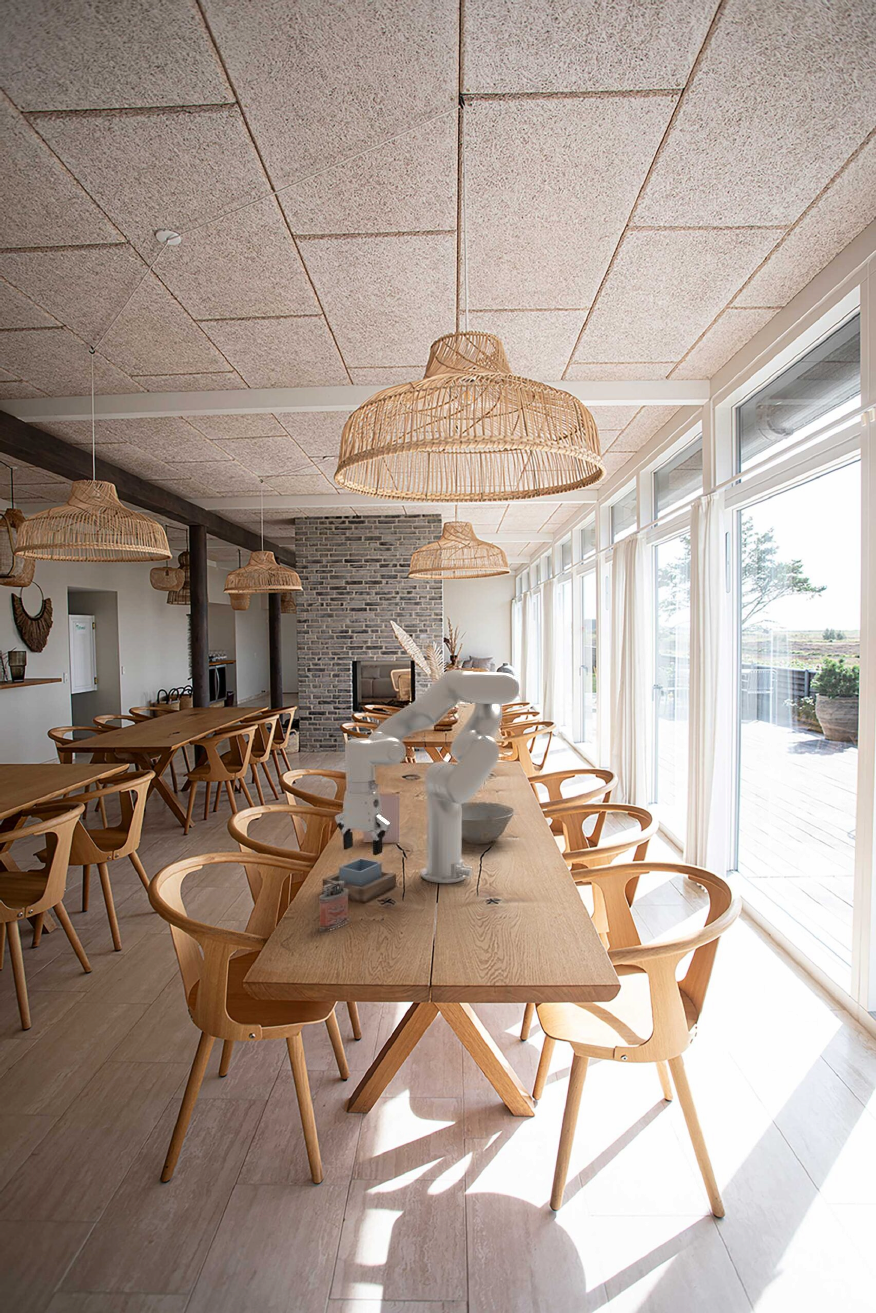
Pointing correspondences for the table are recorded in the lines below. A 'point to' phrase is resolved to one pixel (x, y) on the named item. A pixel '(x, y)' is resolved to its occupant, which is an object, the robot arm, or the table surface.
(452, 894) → the table surface
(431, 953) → the table surface
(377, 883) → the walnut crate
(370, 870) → the small crate
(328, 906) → the lighter
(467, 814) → the ceramic bowl
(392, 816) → the greeting card
